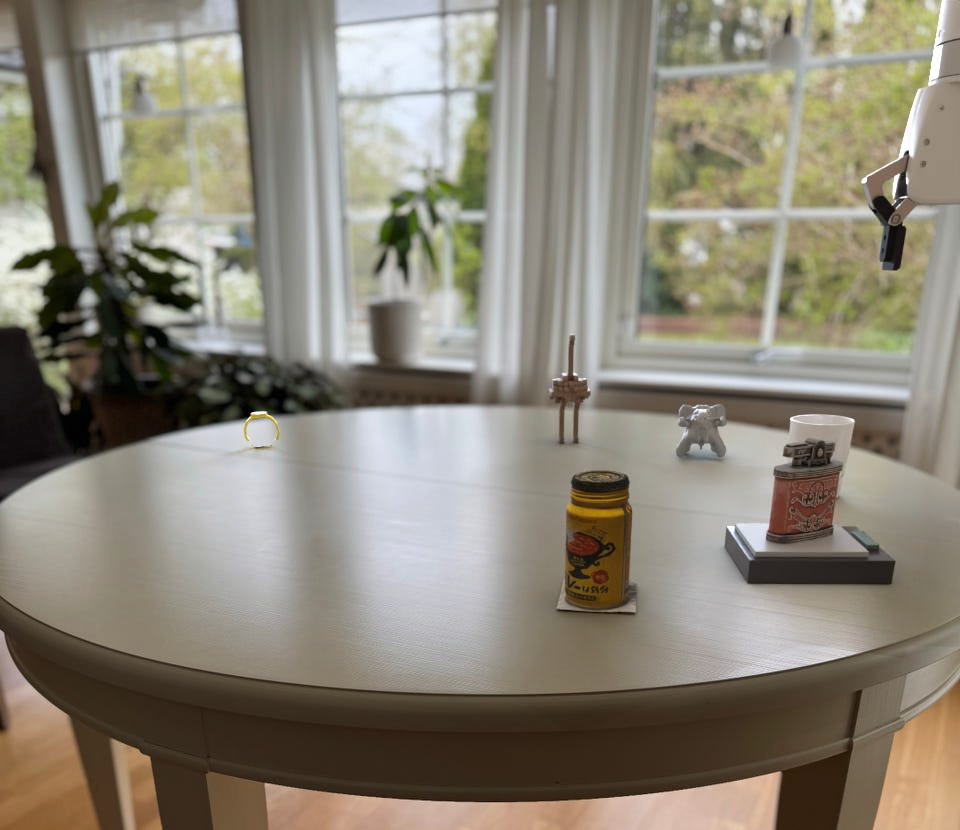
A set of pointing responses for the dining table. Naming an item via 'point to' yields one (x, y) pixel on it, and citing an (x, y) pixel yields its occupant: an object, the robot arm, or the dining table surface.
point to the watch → (260, 415)
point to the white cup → (824, 435)
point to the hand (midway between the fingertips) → (940, 269)
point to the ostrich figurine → (569, 392)
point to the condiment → (598, 545)
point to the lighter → (804, 493)
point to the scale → (809, 557)
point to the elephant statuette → (702, 428)
